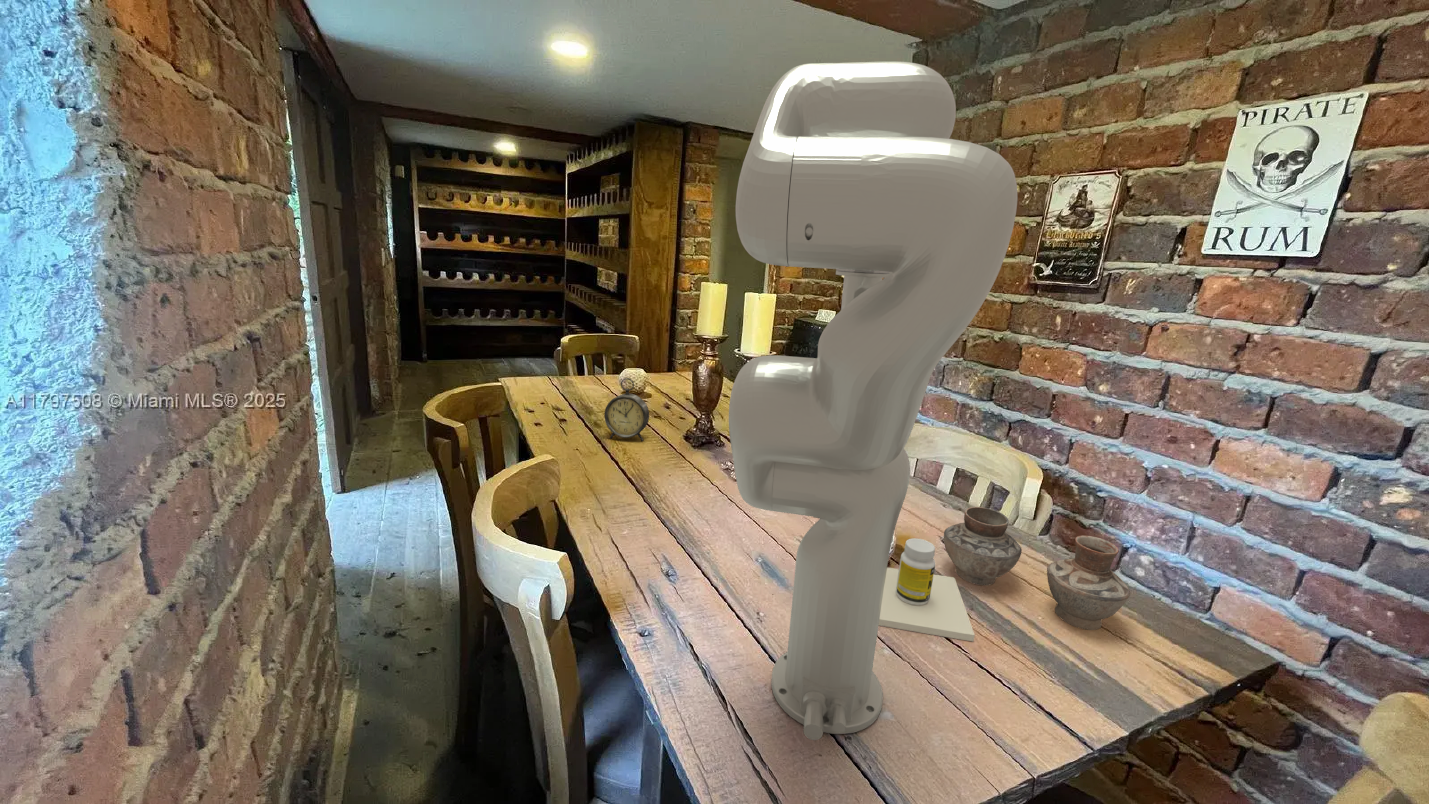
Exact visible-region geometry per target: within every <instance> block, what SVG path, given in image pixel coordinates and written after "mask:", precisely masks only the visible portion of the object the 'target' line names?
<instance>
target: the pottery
mask: <svg viewBox="0 0 1429 804" xmlns="http://www.w3.org/2000/svg"><path fill="white" fill-rule="evenodd" d="M1009 522H1010V521H1009V518H1008V517H1007V516H1006V515H1005V514H1004V513H1002V512H999V511H998V510H995V509H992V508H989V507H985V506H984V507H983V506H971V507H968V508H966V509H965V510H964V515H963V522H960V523H956V524H953V525H951V526H948V527H946V528H945V530H944V531H943V544H944V549H945V551H946V553H947V555H948V558H950V561H952V563H953V564H954V565H955V573H956V574H957V575H958V576H959V577H960V578H961V579H962V580H964V581H966V582H968V583H970V584H974V585H977V586H992V584H994V583H995V581H996V580H997V579H998V578H999V577H1002V576H1004V575H1005V574H1007V573H1008V572H1010V571H1011V570H1012V569H1013V568H1014V567H1015V565H1016V564H1017V563H1018V562H1019V560H1020V558H1021V555H1022V550H1023V549H1022V547H1021V545H1020V544H1019V542H1018V541H1017V540H1016V539H1015V538H1013V536H1011V535H1010V534H1009V533H1007V532H1006V531H1007V529H1008V525H1009ZM1074 540H1075V552H1074V553H1075V555H1074V558H1073V557H1072V558H1063V559H1060V560H1056V561H1053V562H1051V563H1049V564H1048V566H1047V567H1046V574H1047V575H1046V576H1047V577H1046V579H1047V583H1048V587H1049V590H1050V591H1049V592H1050V593H1051V596H1052V598H1053V599H1054V600H1055V602H1056V606H1055V607H1054V611H1055V614H1056V616H1057V617H1059V618H1060V619H1063V620H1062V621H1064V622H1065V623H1066V624H1069V625H1071V626H1072V627H1075V628H1078V627H1079V628H1078V629H1082V630H1087V631H1096V630H1099V629H1101V627H1102V624H1103V622H1102V620H1105V619H1108V618H1110V617H1112V616H1114V615H1115V614H1116V613H1117V612H1118V611H1119V610H1121V609H1122V607H1124V605H1125V604H1126V602H1127V601H1128V600H1129V598H1130V596H1131V591H1130V589H1129V586H1127V584H1126V583H1125V582H1124V581H1123V579H1122V578H1120V576H1119V575H1117V574H1116V573H1115V572H1113V570H1111V566H1112V564H1113V562H1114V559H1115V558H1116V557H1117V556H1118V555H1117V554H1118V553H1119V548H1118V547H1117V546H1116V545H1115V544H1114V543H1112V542H1110V541H1108V540H1106V539H1104V538H1100V537H1096V536H1091V535H1078V536H1076V537H1075V539H1074Z"/></svg>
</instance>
